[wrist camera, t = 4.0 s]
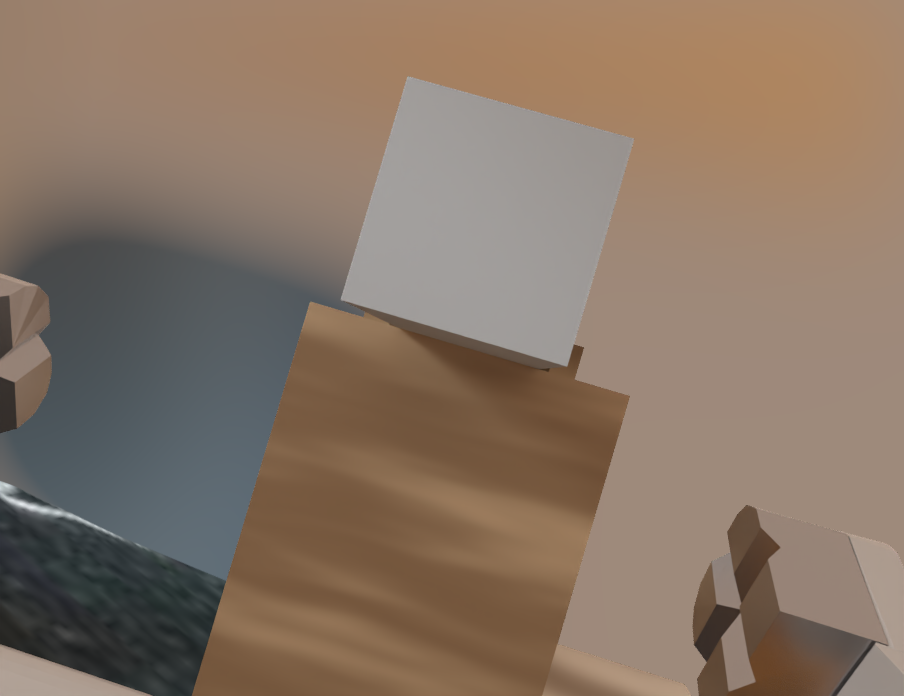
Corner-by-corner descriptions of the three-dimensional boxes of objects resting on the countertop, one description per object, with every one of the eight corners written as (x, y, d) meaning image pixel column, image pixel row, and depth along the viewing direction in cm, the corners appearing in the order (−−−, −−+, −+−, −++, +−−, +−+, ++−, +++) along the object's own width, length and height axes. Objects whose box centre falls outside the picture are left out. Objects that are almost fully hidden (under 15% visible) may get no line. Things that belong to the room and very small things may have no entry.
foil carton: (567, 366, 15) (635, 138, 15) (340, 299, 15) (406, 76, 15) (524, 370, 35) (553, 274, 35) (427, 342, 35) (456, 246, 35)
